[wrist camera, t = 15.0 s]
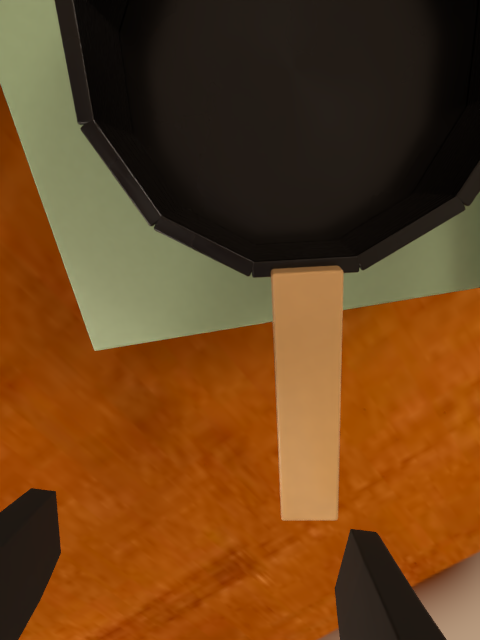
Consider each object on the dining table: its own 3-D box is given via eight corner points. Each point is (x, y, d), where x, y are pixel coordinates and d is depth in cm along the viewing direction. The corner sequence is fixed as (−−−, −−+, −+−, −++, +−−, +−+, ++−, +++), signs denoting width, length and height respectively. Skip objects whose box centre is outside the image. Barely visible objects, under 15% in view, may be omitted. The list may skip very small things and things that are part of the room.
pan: (85, -137, 9) (-24, -331, 6) (507, -199, 8) (677, -465, 5) (172, 441, 15) (144, 521, 11) (431, 436, 14) (487, 521, 10)
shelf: (139, 307, 19) (80, 364, 13) (41, -18, 14) (-111, -155, 9) (441, 253, 17) (534, 291, 11) (430, -134, 13) (572, -406, 7)
